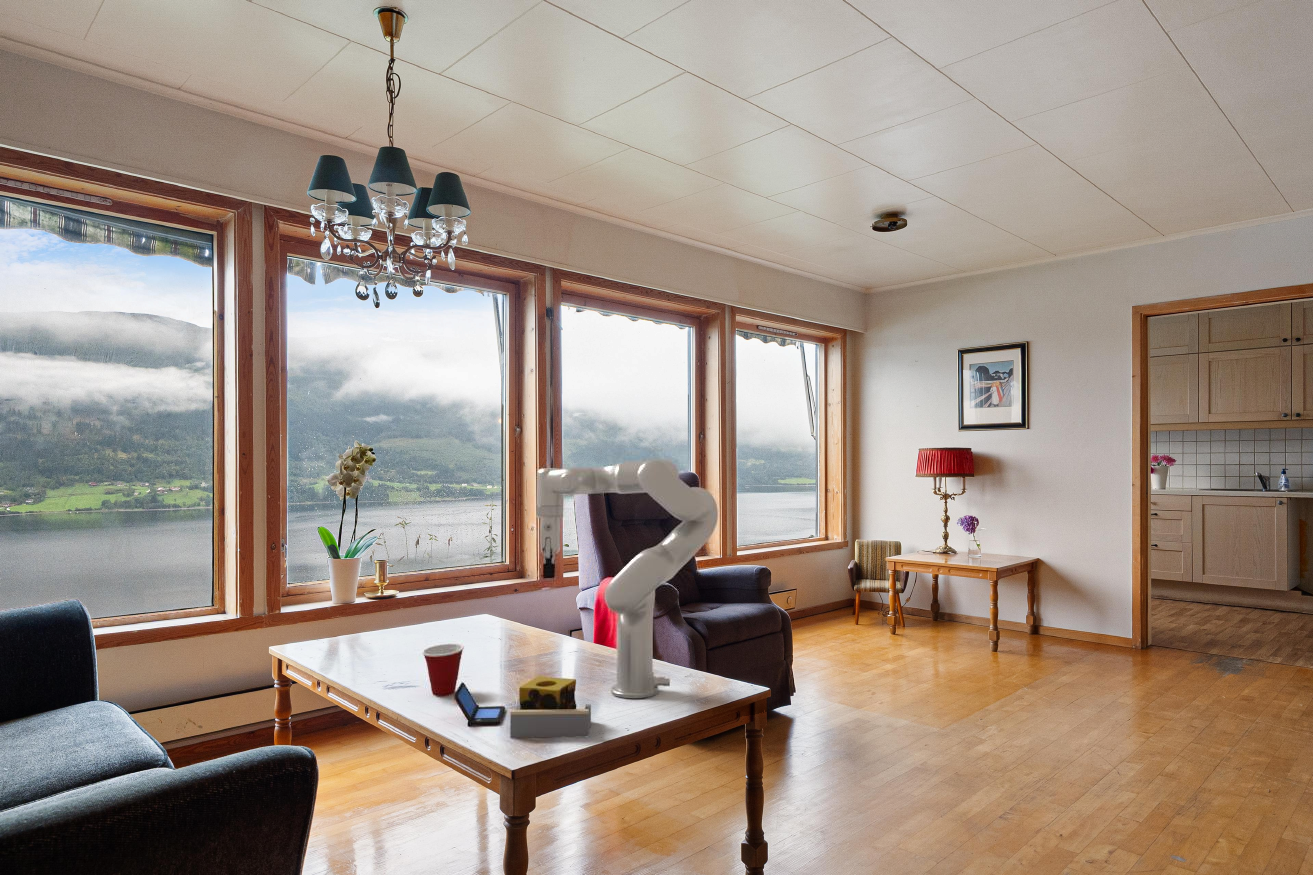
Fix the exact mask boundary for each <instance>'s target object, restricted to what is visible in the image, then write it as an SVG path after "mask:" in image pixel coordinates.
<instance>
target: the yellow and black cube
mask: <svg viewBox="0 0 1313 875" xmlns="http://www.w3.org/2000/svg"><path fill="white" fill-rule="evenodd" d="M576 686H577V679H576V678H563V677H552V676H537V677H535V678H533V679H532V680H530V681H528V682H525V683H524V684H522V685H520V686H519V690H518V694H519V695H518V696H519V697H518V698H519V699H518V702H519V705H520V710H558V709H577V707H578V706H577V703H576V697H575V696H576V694H575V693H576Z"/></svg>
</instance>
